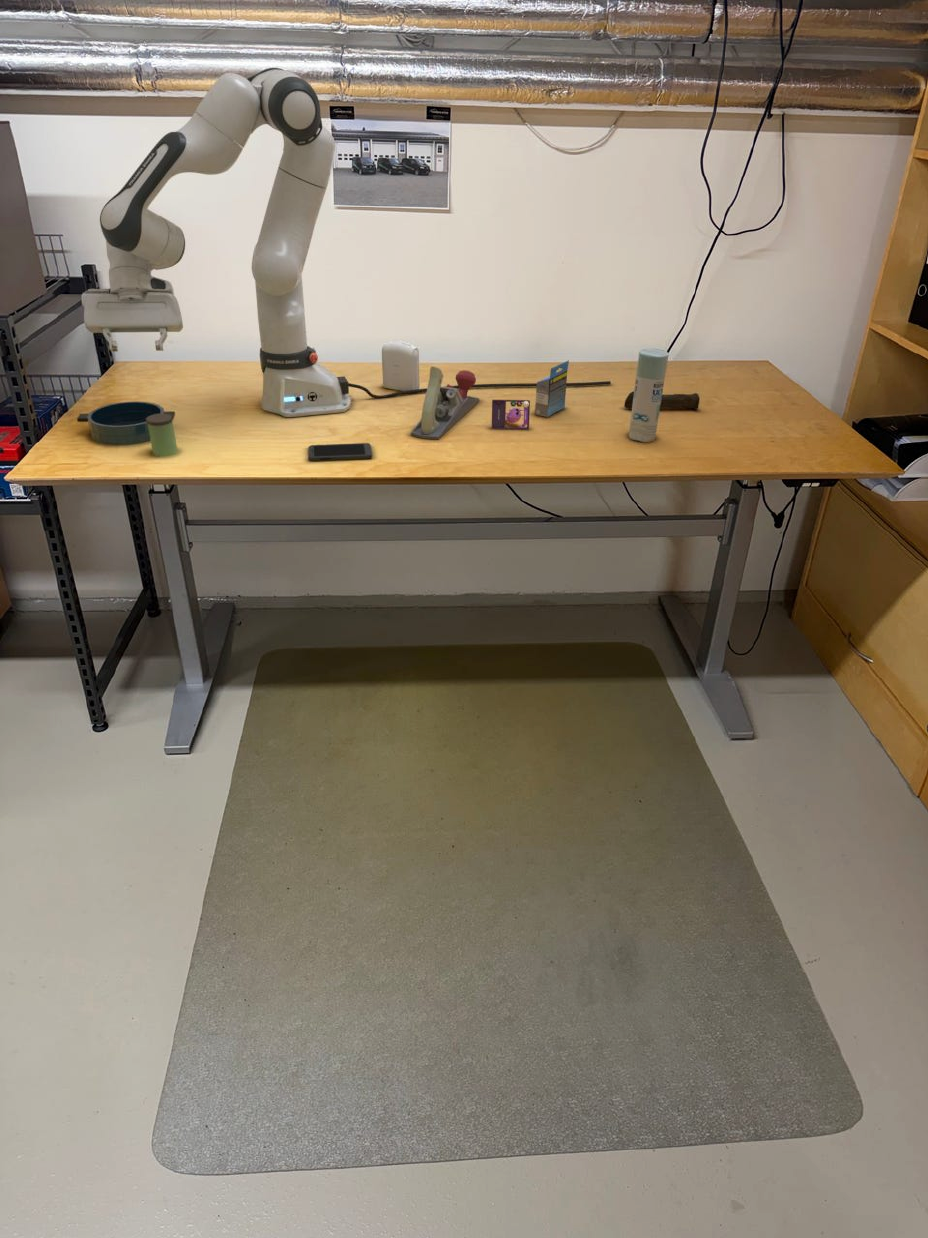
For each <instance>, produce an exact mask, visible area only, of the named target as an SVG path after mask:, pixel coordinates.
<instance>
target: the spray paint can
mask: <svg viewBox="0 0 928 1238" xmlns="http://www.w3.org/2000/svg"><path fill="white" fill-rule="evenodd" d="M637 359H638V360H637V366H636V374H635V383H634V390H633V391H634V397H633V405H632V409H631V412H630V413H631V414H630V422H629V429H628V438H629V439H630V440H632V441H635V442H639V443H649V442H653V441H654V440H655V439H656V436H657V435H656V434H657V428H658V423H659V417H660V410H661V408H660V405H661V398H662V395H663V391H664V385H665V380H666V374H667V373H666V372H667V367H668V360H669V352H668V351H666V350H663V349H660V348H642V349H640V350H639V352H638V357H637Z"/></svg>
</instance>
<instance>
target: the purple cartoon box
mask: <svg viewBox="0 0 928 1238" xmlns="http://www.w3.org/2000/svg"><path fill="white" fill-rule="evenodd" d="M509 402H510V403H509ZM507 403H509V404H510V406H511V407H513V408H511V409H508V411H509V412H507ZM516 406H517V407H516ZM518 407H519V408H518ZM520 407H523V409H521V408H520ZM530 410H531V401H530V400H529V399H492V400H491V429H492V430H498V429H499V430H529V429H530V413H531V411H530ZM522 412H523V414H522ZM522 417H523V423H522V424H521V426H520V427H519V426H518V427H517V426H516V427H515V426H506V423H509V424H514V423H517V422H519V421H520V420H521V419H522Z"/></svg>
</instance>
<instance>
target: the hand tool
mask: <svg viewBox="0 0 928 1238" xmlns="http://www.w3.org/2000/svg"><path fill="white" fill-rule="evenodd" d="M633 397H634V390H633V391H631V392H630V393H628V395H627V397H626V398H625V400H624V406H623V407H624V408H625V409H629V410H632V405H633ZM699 405H700V395H699V393H697V392H694V393H690V394H686V393H673V394H662V398H661V405H660V409H666V408H667V409H693V410H695V411H697V410H698V409H699Z"/></svg>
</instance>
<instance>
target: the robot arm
mask: <svg viewBox="0 0 928 1238" xmlns="http://www.w3.org/2000/svg"><path fill="white" fill-rule="evenodd" d="M263 125H267V126H269V127H271V128H272V129H274V130H276V131H278V132H280V133H281V134H282V138H283V148H282V153H281V154H282V155H281V157H280V160H279V164H278V167H277V169H276V170H277V171H276V174H275V177H274V181H273V184H272V187H271V190H270V191H271V192H270V195H269V198H268V201H267V205H266V210H265V213H264V217H263V220H262V223H261V227H260V231H259V234H258V239H257V242H256V243H255V246H254V247H253V251H252V258H251V273H252V276H253V279H254V282H255V283H254V284H255V296H256V309H257V321H258V330H259V340H260V341H259V342H260V348H259V363H260V369H261V372H262V393H261V400H260V407H261V408H262V410H264V411H266V412H268V413H269V412H270V413H273V414H277V415H280V416H281V417H284V418H295V417H305V416H315V415H317V416H319V415H326V414H327V415H328V414H338V413H345V412H347V411H348V410H350V408H351V406H352V400H351V399H352V398H351V396H350V395H349V394H350V389H349V388H355V389H359V390H362V391H364V392H365V393H366V394H367V395H368V396H369V397H370V398H373V399H376V400H377V399H378V400H381V399H388V398H393V397H397V396H403V395H411V394H419V393H426V392H427V388H428V387H427V388H426V387H425V388H419V389H417V390H410V391H396V392H392V393H388V394H384V395H379V394H378V395H377V394H373V393H372V392H371V391H370V390H369V389H368V388H367V387H365V386H363V385H361V384H360V385H359V384H356V383H350V382H349V381H348V379H347V378H346V376H337V375H336V374H335V373H333V372H332V371H331V370H329V369H328V368H326V367H325V366H324V365H322V364H320V363H319V362H318V361H319V355H318V354H317V350H316V348H315V347H314V346H313V347H311V346H309V345H308V338H307V327H306V325H307V324H306V313H305V300H304V299H305V298H304V287H303V276H302V275H303V270H304V269H305V268H304V267H305V264H306V261H307V257H308V253H309V249H310V247H311V242H312V238H313V234H314V231H315V228H316V224H317V220H318V218H319V215H320V211H321V208H322V205H323V201H324V198H325V195H326V192H327V188H328V184H329V181H330V178H331V174H332V170H333V164H334V159H335V150H336V142H335V139H334V136H333V135H332V133H331V132H330V131H329V129H327V127H325V126H324V125H323V121H322V116H321V104H320V100H319V97H318V94H317V93H316V91H315V89H314V88H313V86H312V85H311V84H310V83H309V82H308V81H307V80H305V79H303V78H302V77H301V76H299V75H297V74H296V73H294V72H293V71H290V70H284V69H283V68H279V67H268V68H265V69H263V70H261V71H259V72H258V73H255V74H254V75H252V76H250V77H248V78H246V77H244V76H243V75H240V74H239V73H238V74H237V73H234V72H225V73H223V74H221V75H220V76H219V77H218V78H217V80H216V81H215V82H214V83H213V84H212V85H211V86H210V88H209V90H208V91H207V92H206V93H205V95H204V97H203V98H202V99H201V100H200V102H199V104H198V106H197V108H196V110H195V111H194V113H193V114H192V116H191V117H190V119H189V120H188V121H187V122H186V123H185V124H184V125H183V126H182V127H180V128H179V129H178V130H176V131H170V132H168V133H166V134H164V136H162V137H161V138H160V139H159V140H158V141H157V143H156V144H155V145H154V146H153V148H152V149H151V150H150V152H149V153H148V154H147V155H146V157H145V158H144V159H143V161H142V162H141V163H140V165H138V167H137V168H136V170H135V171H134V172H133V174H131V176H130V178H128V180H127V181H126V182H125V184H124V185H123V186H122V188H121V189H120V190H119V191H118V192H117V193H116V194H115V195H113V196H112V197H110V199H109V200H107V202H106V203H105V205H104V206H103V207H102V209H101V211H100V215H99V225H100V229H101V232H102V235H103V237H104V239H105V245H106V257H107V259H108V262H109V269H108V282H109V288H88V289H87V290H85V291H84V292H82V294H81V297H80V298H81V305H82V307H83V323H84V327H85V328H86V329H87V331H88V332H89V333H91V334H102V335H103V338H104V339H105V340H106V341H107V343H108V348H109V351H110V352H113V353H114V352H118V351H119V349H118V346H119V345H118V342H117V341H116V340H113V339H111V337H112V333H113V334H114V333H115V334H116V333H159V335H160V337H159V339H158V340H156V339H155V340H154V345H155V351H156V352H163V351H164V343H165V342H166V340H167V339H168V333H180V332H181V331H182V330H183V328H184V324H183V318H182V317H183V316H182V312H181V308H180V305H179V300H178V299H177V297H176V296H175V290H174V287H173V285H172V282H171V281H169V280H165V279H163V278H160V277H159V278H158V277H155V276H153V275H152V271H154V270H155V271H158V270H164V269H168V268H169V269H170V268H172V267H174V266H175V265H177V264H179V262H180V261H181V260H182V259H183V257H184V255H185V251H186V237H185V234H184V232H183V230H182V228H181V227H179V226H178V225H177V224H175V223H174V222H172V221H170V220H168V218H166V217H163V216H161V215H159V214H157V213H155V212H154V211H152V210H150V209H149V207H150V205H151V204H152V202H153V201H154V200H155V199H156V197H158V195H159V194H160V192H161V191H162V190H163V188H164V187H165V186H166V184H167V183H168V182H169V180H171V179H172V178H173V177H175V176H177V175H179V174H185V173H187V174H188V173H191V174H192V173H193V174H199V175H200V174H201V175H205V176H214V175H220V174H224V173H225V172H228V171H229V170H230V169H231V168H233V166H234V165H235V163H236V162H237V161H238V159H239V157H240V156H241V154H242V152H243V150H244V148H245V147H246V145H247V144H248V141H249V139H250V137H251V135H252V134H253V133H254V132H255V131H256V130H257V129H258V128H259V127H261V126H263ZM611 384H612V383H611V380H605V381H604V380H603V381H590V382H589V381H588V382H586V381H585V382H566V387H586V386H602V385H611ZM451 386H452V387H454V388H456V389H459V386H458V384H457V385H451ZM444 387H447V385H446V386H444ZM510 387H512V388H513V387H515V388H516V387H519V388H520V387H529V388H531V387H537V382H532V383H531V382H530V383H529V382H527V383H523V382H522V383H519V382H517V383H516V382H515V383H513V382H512V383H478V384H477V383H475V384H474V385H473V386H472V387H471V388H470V389H473V388H474V389H475V388H510Z"/></svg>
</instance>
